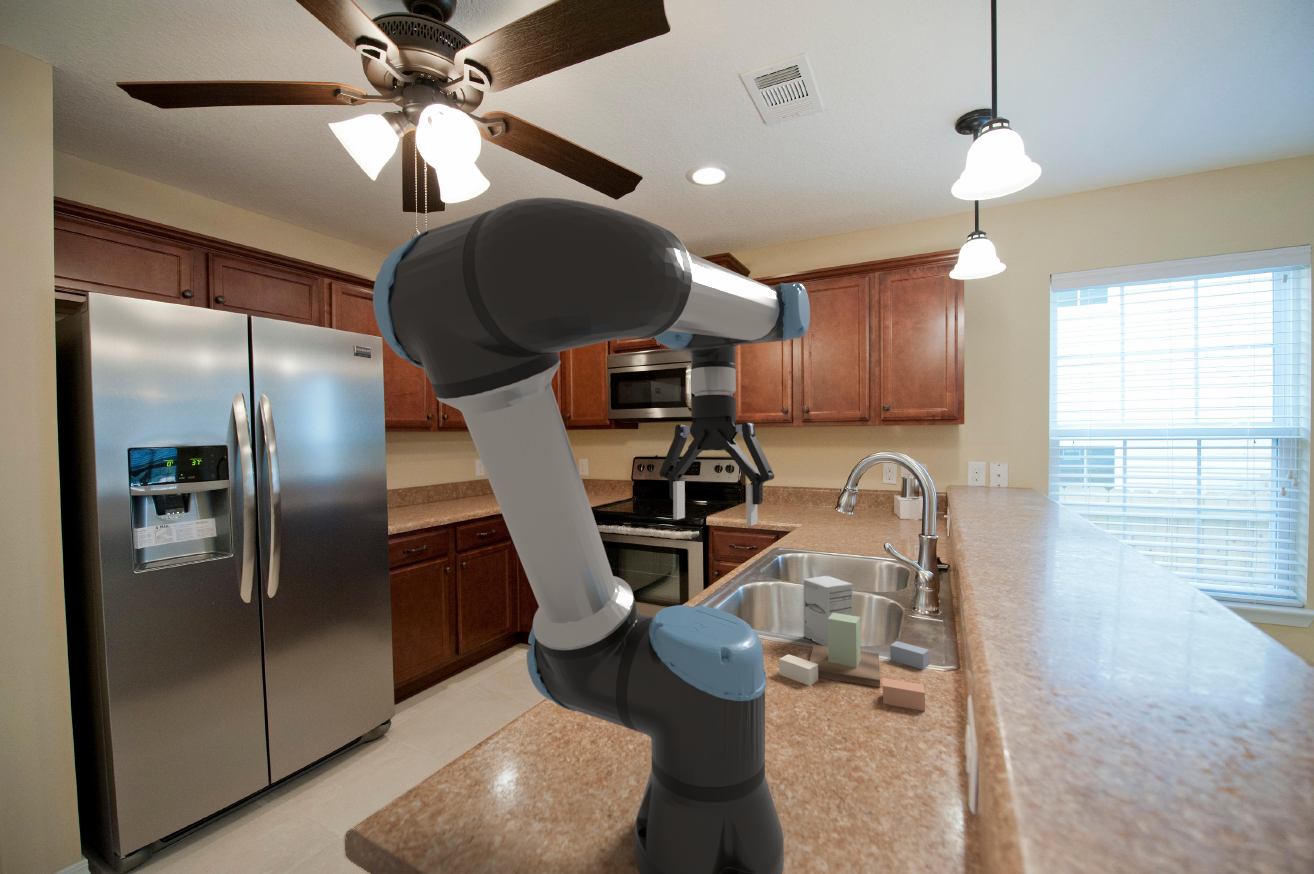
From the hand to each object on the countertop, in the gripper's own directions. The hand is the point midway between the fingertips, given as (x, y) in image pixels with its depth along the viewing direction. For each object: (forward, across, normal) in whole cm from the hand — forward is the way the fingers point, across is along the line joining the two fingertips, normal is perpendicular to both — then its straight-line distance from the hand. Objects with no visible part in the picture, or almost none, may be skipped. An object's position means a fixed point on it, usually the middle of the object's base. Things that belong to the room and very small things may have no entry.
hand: (714, 521), depth 86 cm
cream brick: (+29, -10, -14) cm, 33 cm away
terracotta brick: (+29, -27, -14) cm, 42 cm away
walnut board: (+29, -16, -22) cm, 39 cm away
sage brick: (+27, -16, -22) cm, 39 cm away
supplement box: (+29, -10, -34) cm, 46 cm away
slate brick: (+29, -26, -31) cm, 50 cm away
